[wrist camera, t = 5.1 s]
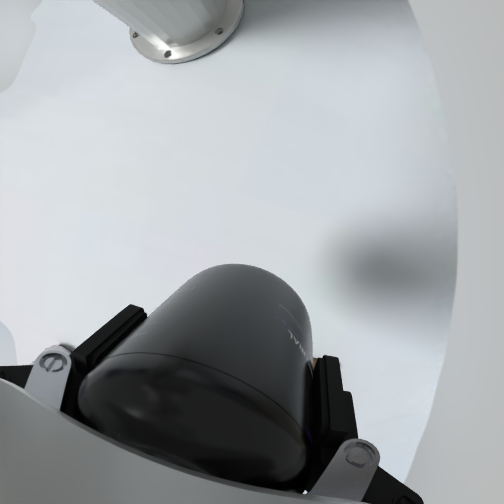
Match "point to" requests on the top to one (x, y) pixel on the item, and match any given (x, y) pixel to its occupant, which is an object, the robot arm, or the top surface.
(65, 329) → the top surface
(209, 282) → the supplement bottle
